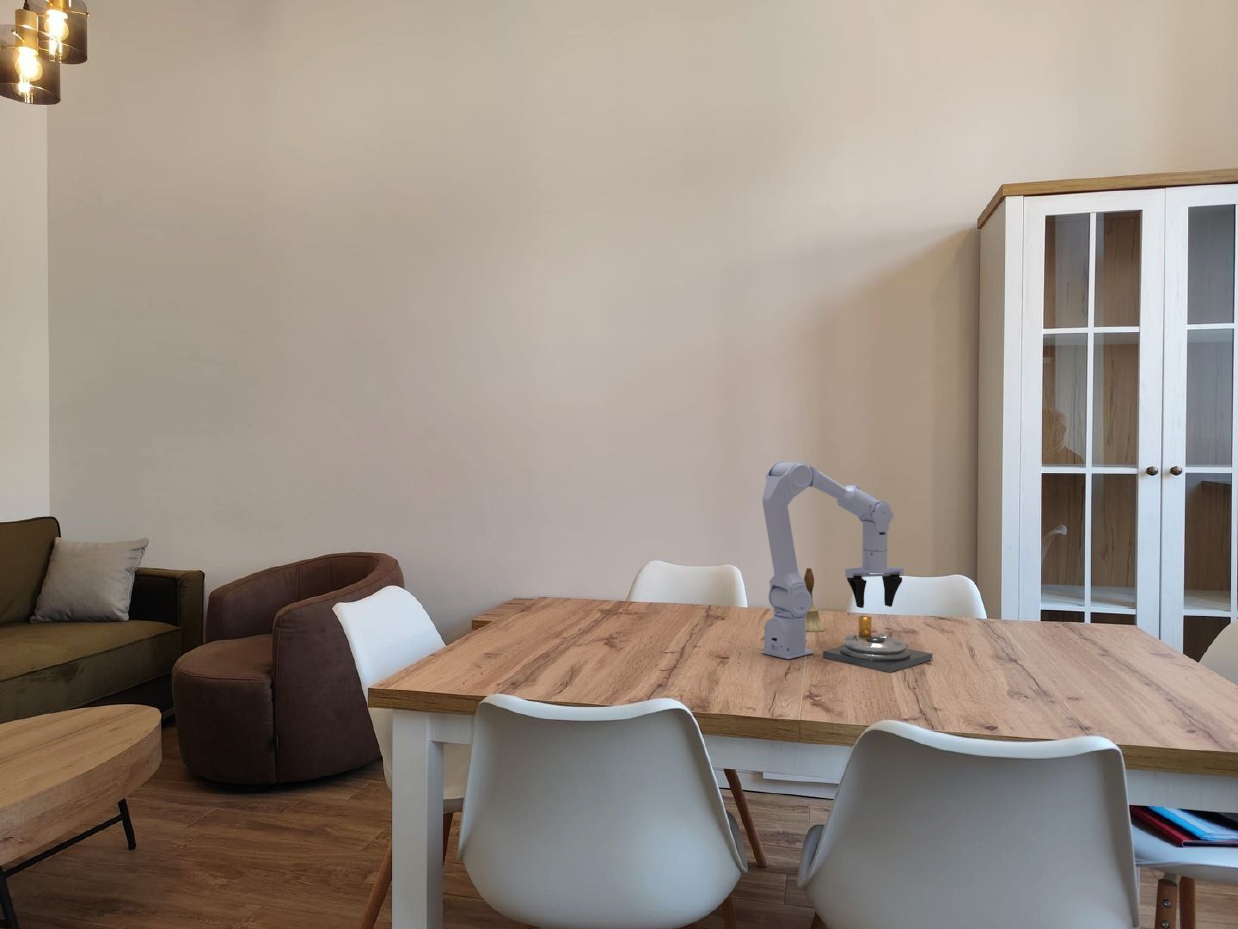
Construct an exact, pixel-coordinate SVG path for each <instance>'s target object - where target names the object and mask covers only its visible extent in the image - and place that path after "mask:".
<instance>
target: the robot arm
mask: <svg viewBox="0 0 1238 929" xmlns="http://www.w3.org/2000/svg"><path fill="white" fill-rule="evenodd" d="M765 477H766V478H765V480H766V483H765V487H764V492H763V495H762V508H763V513H764V520H765V525H766V530H767V531H766V532H767V539H768V544H769V549H770V556H771V557H770V558H771V562H772V567H773V568H772V569H773V576H772V577H771V578H770V580H769V591H768V602H769V605H771V607H772V609H773V610H772V612H773V616H772V617H771V618H770V619H767V621H766V622H765V624H764V634H763V635H764V636H763V637H764V638H763V640H764V644H763V645H764V646H763V648H764V650H761V654H765V655H769V656H772V657H773V656H774V657H776V658H777V657H778V658H781V659H785V660H786V659H787V660H791V659H794V658H798V657H803V656H807V655H811V654H814V650H810V649H806V644H807V643H806V641H807V640H806V634H807V632H806V617H807V613H808V612H809V610H810V609H811V606H812V600H813V596H812V597H811V595H810V593H809V592H808V590H807V588H806V583H805V581H804V578H803V577H802V576H801V573H799V566H798V562H797V557H796V551H795V550H796V548H795V544H794V537H793V532H792V531H793V530H792V525H791V520H790V519H791V518H790V513H789V504H790V503H791V502H792V500H793V499H794V498H796V496H798V495H800V494H801V493H802V492H804V491H805V490H807V489H808V488H810V487H811V488H814V489H816V490H818V491H820V492H822V493H825V494H826V495H828V496H830V497H832V498H834V499H836V501H837V502H836V503H837V505H838V506H839V507H840V508H842V509H843V510H846V511H847V512H849V513H850V514H853V515H855V516H856V517H857V518H858V520H859V521H860V522H861V523H862V555H861V556H862V559H861V560H862V562H861V563H862V566H860V567H854V568H853V567H852V568H845V574H844V575H845V577H846V580H847V582H848V584H849V586H850V588H851V591H852V593H853V596H854V600H855V605H856V606H855V607H857V608H860V609H863V608H864V606H865V593H866V592H865V590H866V585H867V580H866V579H864V578H867V577H868V578H870V577H871V578H872V577H881V578H882V579H881V580H882V584H883V590H884V594H883V595H884V596H883V598H884V600H883V601H884V602H883V603H884V606H887V607H888V608H889V607H890V608H892V607H893V603H894V600H895V598H896V597H895V596H896V593H897V591H898V589H899V587H900V586H901V584H902V582H903V577H904V576H905V574H904V572H905V571H904V567H899V566H888V531H889V530H890V524H891V522H892V519H893V517H894V512H893V511H892V508H891V506H890V504H889V503H888V502H887V501H884V500H878V499H876V496H875V495H874V494H871V493H870V494H868V493H867V492H864V491H863V490H861V486H859V485H857V484H853V485H851V484H849V485H846V486H844V485H842V484H840V483H839V482H837V481H836V480H834V479H833V478H831V477H829V476H828V475H826V474H825V473H823V472H821V471H820V470H819V469H817V468H816V467H814V466H812V465H809V464H808V463H806V462H802V461H800V462H799V461H798V462H786V461H785V462H784V461H778V462H775V463H774V464H772V465H771V467H770V468H769V469H768V470H767V472H766V473H765Z"/></svg>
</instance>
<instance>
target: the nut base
mask: <svg viewBox="0 0 1238 929" xmlns="http://www.w3.org/2000/svg"><path fill="white" fill-rule="evenodd" d="M822 654H823V655H822V658H823V659H827V660H832V661H836V662H841V663H845V662H847V663H846V664H849V663H851V664H850V665H853V664H855V666H858V667H862V668H863V667H864V668H867V669H871V670H876V669H877V671H880V670H881V671H880V672H884V671H885V672H884V673H889V672H890V673H889V674H891V673H893V671H895V672H897V671H896V670H898V671H900V670H899V669H901V670H905V669H907V667H908V668H911V667H914V666H913V665H915V666H917V665H916V664H918V663H921V662H925V663H927V662H926V661H928V662H930V661H929V660H931V659H932V660H933V653H931V652H926V651H921V650H916V649H911V648H908V647H906V650H905V651H904V652H901V653H896V654H872V653H864V652H858V651H854V650H851V649H848V648H847V647H845V642H844V643H842V644H840V646H838V647H833V648H830V649H826V650H823V651H822ZM921 664H922V663H921ZM918 665H919V664H918ZM910 666H911V667H910ZM904 668H905V669H904Z"/></svg>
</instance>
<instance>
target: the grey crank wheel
mask: <svg viewBox="0 0 1238 929" xmlns="http://www.w3.org/2000/svg"><path fill="white" fill-rule="evenodd" d="M844 643H845V647H847V648H848V649H851V650H854V651H858V652H864V653H872V654H896V653H901V652H904V651H905V650H906V648H907V646H906V641H905V640H903V639H901V638H897V637H893V636H889V633H883V632H879V633H877V634H872V616H869V615H859V616H858V634H851V633H848V634H846V635H845V638H844Z"/></svg>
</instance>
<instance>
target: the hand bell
mask: <svg viewBox="0 0 1238 929" xmlns="http://www.w3.org/2000/svg"><path fill="white" fill-rule="evenodd" d="M805 570H806V571H805V573H804V578H803V579H804V581H805V583H806V588H807V590H808V592H809V593H810V595H811V597H812V598H813V590H814V586H815V577H814V574H813V570H812V568H808V567H807V568H806V569H805ZM824 631H826V627H825V626H824V625H823V623H822V621H821V619H820V614H819V609H818V608H817V607H816V606H814V603H813V599H812V606H811V609H810V610H809V612H808V613H807V617H806V633H820V632H824Z"/></svg>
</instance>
